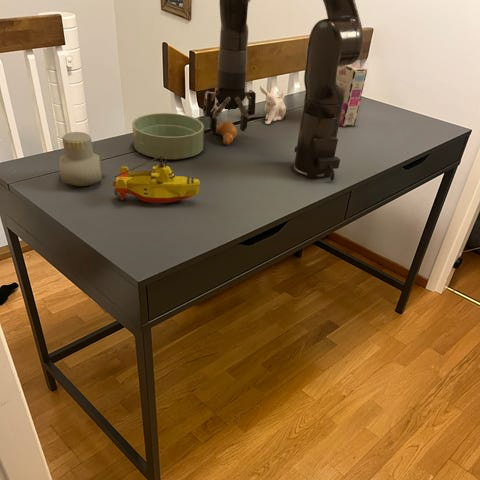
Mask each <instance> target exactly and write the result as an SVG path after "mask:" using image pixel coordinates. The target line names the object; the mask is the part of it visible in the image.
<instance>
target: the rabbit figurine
mask: <svg viewBox="0 0 480 480" xmlns="http://www.w3.org/2000/svg"><path fill="white" fill-rule="evenodd" d="M274 86H275V85H274V83H272V84H271V88H270V92H268V91H267V89H265V88H264V87H263V86H262V85H261V84H260V85H259V90H260V92H261V94H264V95H265V96H266V98H265V104H264V107H263V109H264V112H265V113H266V114H265V120H264V123H265V124H267V125H270V124H271V122H276V121H282V120H283V119H284V118H285V115H286V114H287V106H286V105H285V101H284V99H285V94H284V91H283V90H281V92H280V91H278V90H277V91H276V94H277V95H279V97H277V96H276V95H275V94H274V93H275V87H274Z"/></svg>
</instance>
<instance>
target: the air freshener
mask: <svg viewBox="0 0 480 480" xmlns="http://www.w3.org/2000/svg"><path fill="white" fill-rule="evenodd" d="M61 140H62V147H63V153H64V154H62V155H61V156H60V158H59V174H60V179H61V181H62V182H64V183H66V184H67V185H72V186H77V187H87V186H92V185H95V184H96V183H98V182H100V181H101V180H102V178H103V177H102V176H103V173H102V160H101V156H100V155H99V154H97V153H95V152H94V150H93V149H94V148H93V143H92V142H93V141H92V136H91V135H90V134H88V133H86V132H81V131H71V132H67V133H64V135H63V136H62V137H61Z"/></svg>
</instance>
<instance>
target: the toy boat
mask: <svg viewBox="0 0 480 480" xmlns="http://www.w3.org/2000/svg"><path fill="white" fill-rule="evenodd" d="M155 160H159V161H160V162H159V163H158V164H156V165H155V166H154V165H153V166H152V170H136V171H133V170H135V169H138V168H140V167H142V166H144V165H146V164H149V163H151V162H153V161H155ZM131 171H133V172H131ZM153 171H154V172H153ZM114 178H116V179H115V181H113V183H112V185H113V186H114V189H113V195H114V196H119V197H120V200H124V199H125V197H126V195H127V194H129V195H132V196H134V197H136V198H138V199H139V200H141V201H143V202H147V203H155V204H169V203H175V202H178V201H181V200H187V199H190V198H192V197H194V196H196V195H197V194H199V191H200V185H201V183H200V181H201V180H200V179H199V178H195V177H190V176H183V175H182V176H181V175H180V176H177V175H175V174H174V173H173V171H172V169H171V167H170V166H168V165H167V159H164V163H163V159H162V155H161V156H160V157H157V158H153V159H151V160H148V161H147V162H144V163H143V164H140V165H137V166H135V167H133V168H131V169H129V168H128V166H121V168H120V170H119V172H118V174H116V175H115V176H114Z"/></svg>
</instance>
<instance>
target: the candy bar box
mask: <svg viewBox="0 0 480 480" xmlns="http://www.w3.org/2000/svg"><path fill="white" fill-rule="evenodd" d="M367 73H368V69H366V68H364V67H362V66H359V65H356V64H355V63H353V64H351V65H347V66H340V67H338V68H337V76H336V82H337V83H338V84H341V85H342V86H344V87H345V89H346V94H345V99H344V104H343V109H342V114H341V118H340V123H339V126H341V127H342V128H344V127H345V128H346V127H355V126H356V121H357V117H358V112H359V108H360V104H361V99H362V95H363V90H364V86H365V82H366V77H367Z"/></svg>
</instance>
